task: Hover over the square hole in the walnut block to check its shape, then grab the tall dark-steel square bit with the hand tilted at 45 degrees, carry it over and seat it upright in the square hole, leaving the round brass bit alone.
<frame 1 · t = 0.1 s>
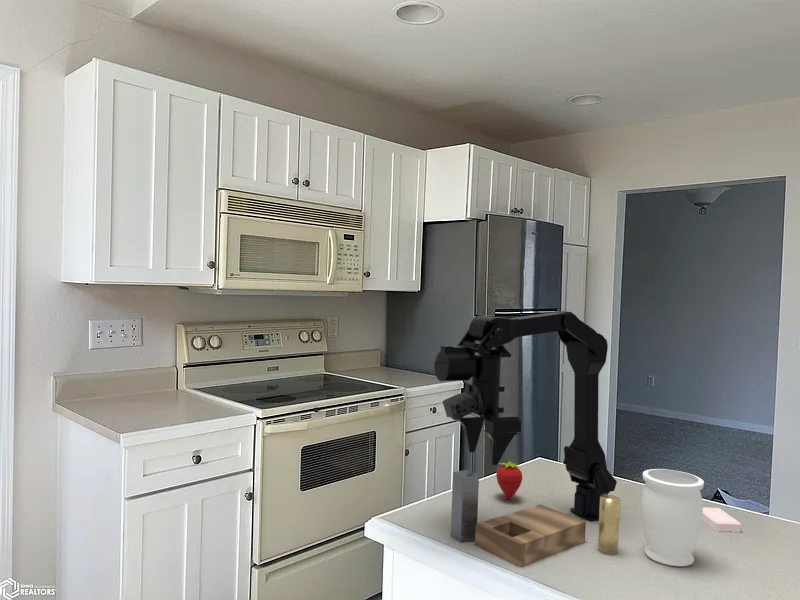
hand: (482, 458, 121), 15 cm above the counter, tool pointing down, fingers open, 9 cm apart
strawberry: (508, 499, 141), on the counter
soap bar: (717, 526, 131), on the counter
jar: (668, 558, 113), on the counter
square bit: (463, 537, 118), on the counter
socket block: (530, 543, 117), on the counter
round bit: (607, 550, 115), on the counter
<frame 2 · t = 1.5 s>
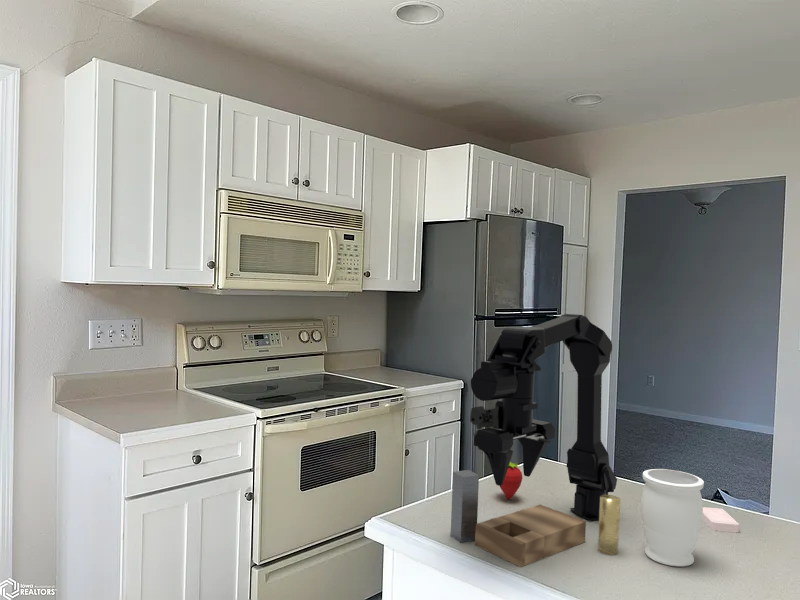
hand: (513, 480, 113), 13 cm above the counter, tool pointing down, fingers open, 9 cm apart
nothing on the counter moved.
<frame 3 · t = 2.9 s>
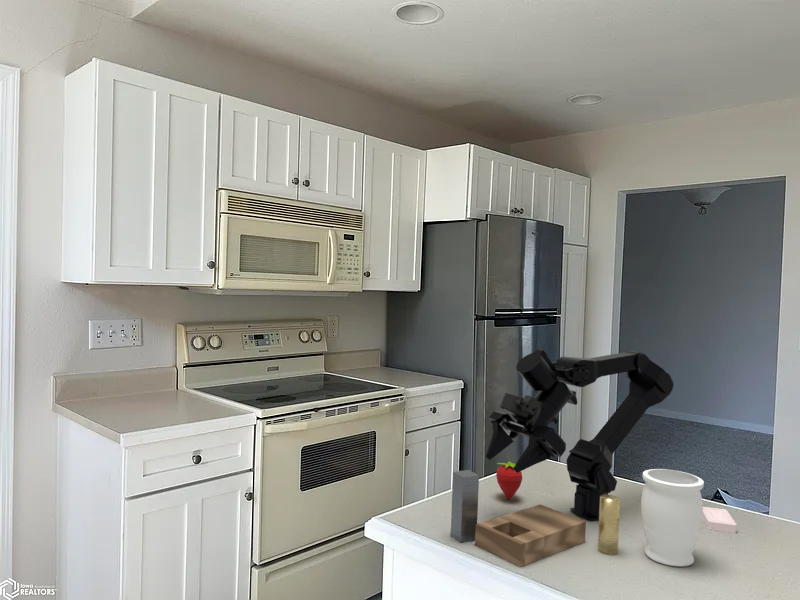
hand: (500, 464, 122), 13 cm above the counter, tool tilted 45°, fingers open, 9 cm apart
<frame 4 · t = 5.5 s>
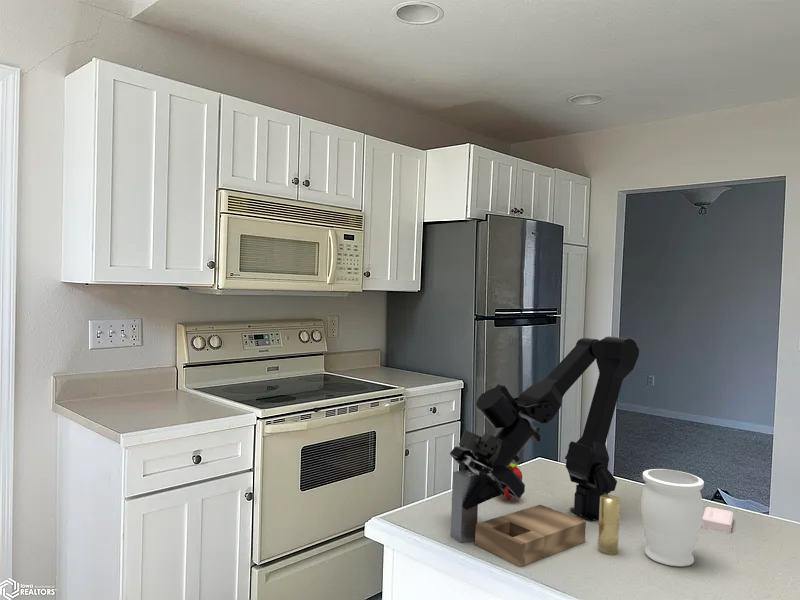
hand: (458, 504, 117), 7 cm above the counter, tool tilted 45°, fingers closed on square bit, 4 cm apart
square bit: (463, 537, 118), on the counter, touching gripper
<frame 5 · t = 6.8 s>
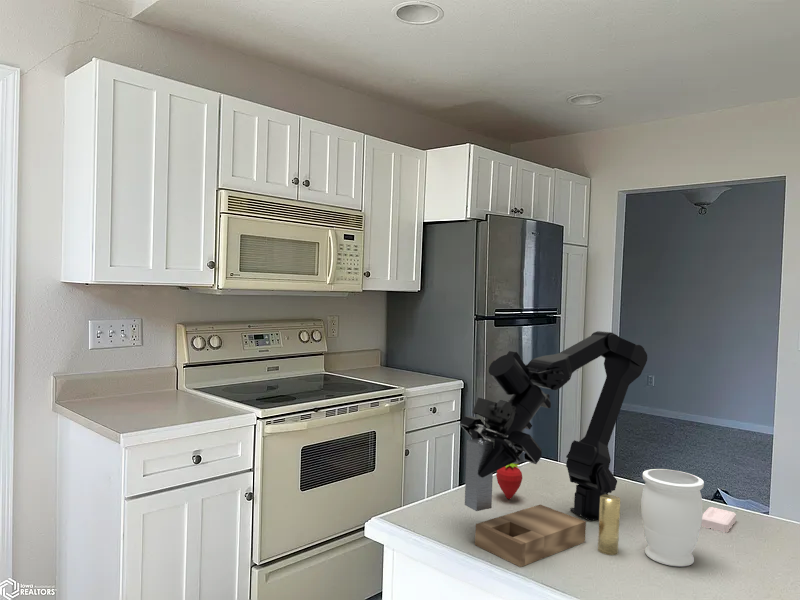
hand: (473, 473, 116), 13 cm above the counter, tool tilted 45°, fingers closed on square bit, 4 cm apart
square bit: (478, 506, 116), point 7 cm above the counter, touching gripper
when the fingers open (9 cm above the counter, at t = 8.4 s): square bit drops 2 cm, resting in socket block.
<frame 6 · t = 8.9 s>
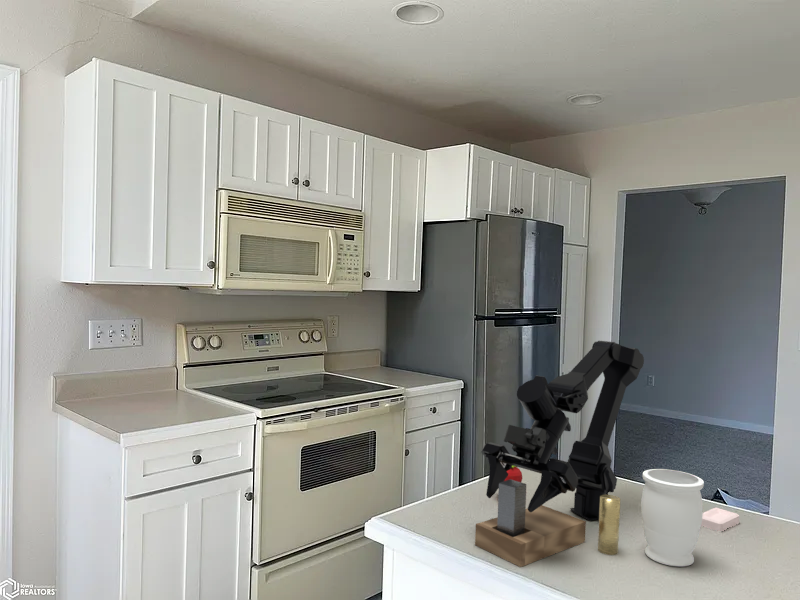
hand: (507, 503, 112), 9 cm above the counter, tool tilted 45°, fingers open, 9 cm apart
square bit: (510, 550, 113), resting in socket block
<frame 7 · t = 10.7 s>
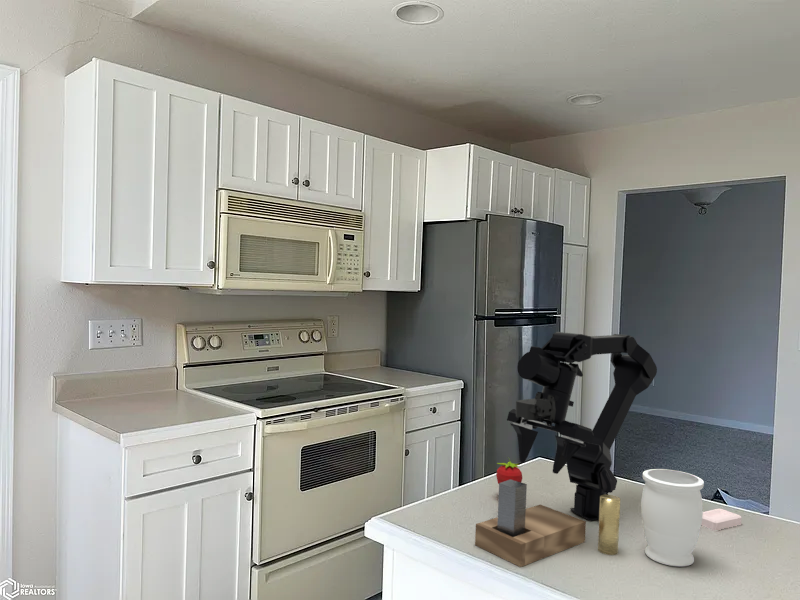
hand: (537, 467, 123), 13 cm above the counter, tool tilted 20°, fingers open, 9 cm apart
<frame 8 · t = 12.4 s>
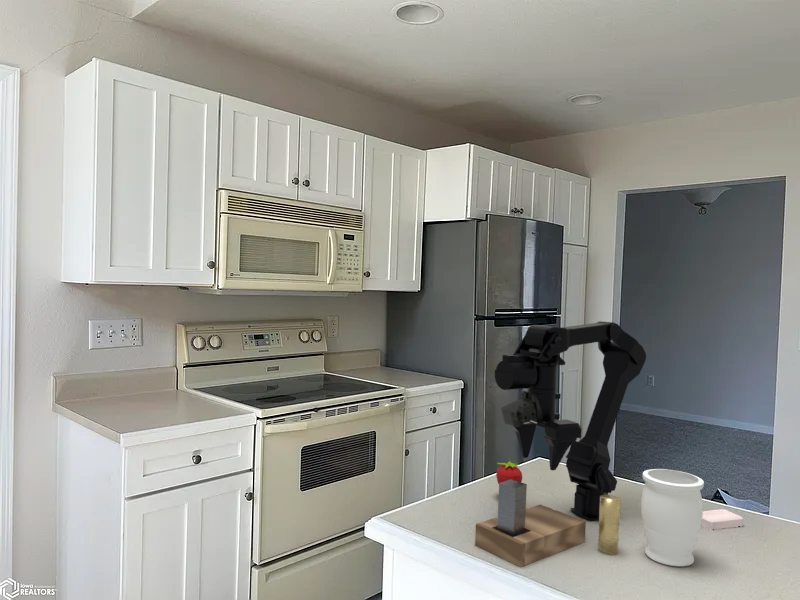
hand: (538, 463, 125), 13 cm above the counter, tool pointing down, fingers open, 9 cm apart
at the end: square bit 0.1 cm from the target spot, resting in socket block; square bit tilted 0°; the gripper is holding nothing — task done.
